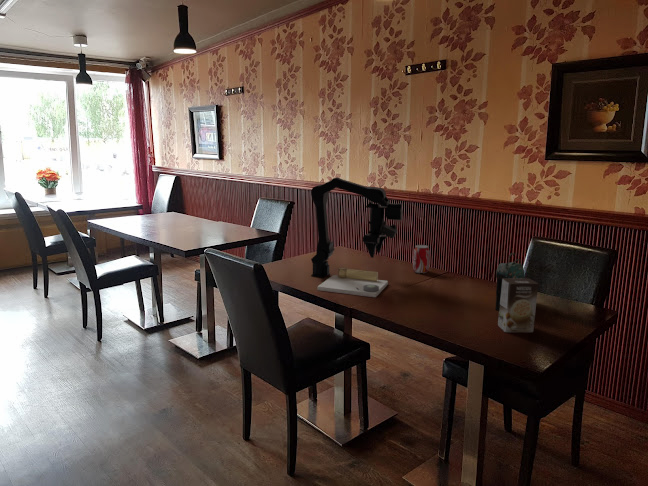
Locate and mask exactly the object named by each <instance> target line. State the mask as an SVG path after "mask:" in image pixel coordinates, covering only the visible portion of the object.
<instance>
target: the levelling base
mask: <svg viewBox="0 0 648 486" xmlns="http://www.w3.org/2000/svg"><path fill="white" fill-rule="evenodd" d="M388 283H389V281H388V280H384V279H383V280H382V279H378V280H377V281H370V280H361V279H352V278H339V277H338V275H337V274H333V275H332V276H330V277H329V278H327V279H326V280H325V281H323V282H322V283H321V284H318V286H317V291H322V292H328V293H330V292H331V293H337V294H338V293H339V294H346V295H352V296H353V295H354V296H362V297H370V298H377V296H379V295H380V294H381V292H382V291H383V290H384V289H385V288H386V287H387V286H388V285H389V284H388Z"/></svg>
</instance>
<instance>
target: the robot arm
mask: <svg viewBox="0 0 648 486" xmlns="http://www.w3.org/2000/svg"><path fill="white" fill-rule="evenodd" d="M334 189H340V190H343V191H346V192H349V193H353V194H356V195H359V196H361V197H363V198H365V199H366V200H368V201H369V202H368V204H367V205H366V206H365V208H369V209H370V213H369V214H370V215H369V216H370V217H369V220H368V225H369V229H368V232H367V233H366V234H365V235H363V236H362V242H363V244H364V245H365V247H366V249H367V252H368V254H369V255H370V256H369V257H370V258H371V259H372V258H373V259H374V257H375V252H377V254H379V253H381V250H382V247H383V243H384V242H385V240H386V239H387V238H388V237H389V238H390V239H394V238H395V237H396V234H397V233H398V227H397V225H396V224H394V223H393V224H391V225H388V224H386V223H387V221H386V220H385V218H387V220H389V221H390V220H392V221H402V220H403V218H404V217H403V215H404V210H403V203H392V202H390V200H389V199H388V197H387V194H386V193H387V192H386V190H385V189H384V188H382V187H378V186H377V187H376V186H365V185H362V184H359V183H356V182H353V181H349V180H347V179H342V178H341V177H333V178H332V179H330V180H329V181H327V182H325V183H323V184H318V185H315V186H313V187H312V188H311V191H310V195H311V198H312V199H311V200H312V201H313V204H314V206H315V212H316V224H317V236H318V241H317V244H316V245H317V246H316V252H315V254H314V256H313V257H312V258H311V259H310V260H311V262H312V274H311V275H310V277H317V278H326V277H328V276H329V275H330V264H329V258H330V257H331V256H332V255H333V254H334V252H335V247H334V245H335V244H334V243H335V241H333V240H332V241H331V240H330V236H329V225H328V214H327V203H328V200H329V199H328V198H329V192H332V191H333V190H334Z"/></svg>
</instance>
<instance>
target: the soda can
mask: <svg viewBox="0 0 648 486" xmlns="http://www.w3.org/2000/svg"><path fill="white" fill-rule="evenodd" d="M414 246H415V247H414V249H413V258H412V261H413V262H412V269H413V272H414V273H416V274H420V273H423V274H427V273H428V272H429V270H430V257H431V255H430V251H431V250H430V248H429V245H425V244H417V245H414Z"/></svg>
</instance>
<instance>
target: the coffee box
mask: <svg viewBox="0 0 648 486" xmlns="http://www.w3.org/2000/svg"><path fill="white" fill-rule="evenodd" d="M538 291H539V283H538V282H536V281H535V280H533V279H531V278H529V277H527V278H526V277H525V278H502V288H501V298H500V308H499V311H498V321H497V326H498V327H499V328H500V329H501V330H502V331H503V332H504V333H534V327H535V319H536V307H537V301H538Z"/></svg>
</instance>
